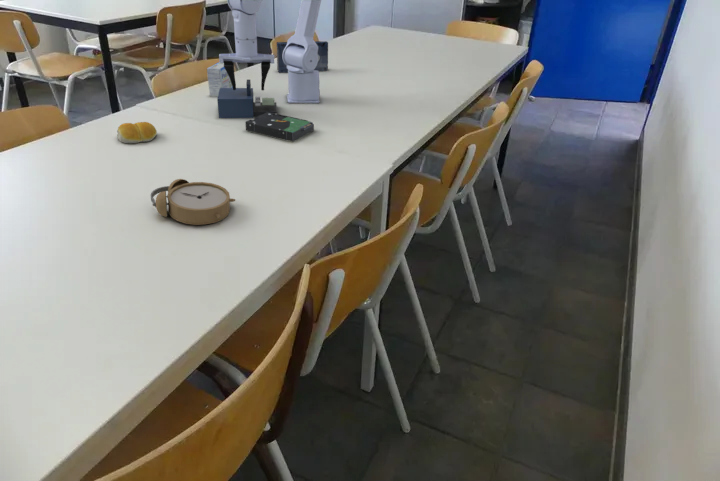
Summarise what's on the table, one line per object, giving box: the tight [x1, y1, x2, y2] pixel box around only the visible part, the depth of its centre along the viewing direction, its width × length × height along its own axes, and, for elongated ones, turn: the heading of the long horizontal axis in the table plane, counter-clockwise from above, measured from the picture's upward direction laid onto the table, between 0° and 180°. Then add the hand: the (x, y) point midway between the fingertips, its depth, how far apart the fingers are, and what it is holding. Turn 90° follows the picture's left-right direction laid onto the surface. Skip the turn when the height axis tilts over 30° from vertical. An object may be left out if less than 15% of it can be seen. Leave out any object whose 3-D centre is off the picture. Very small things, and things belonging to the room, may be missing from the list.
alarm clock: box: [150, 178, 236, 226], centre depth 103 cm, size 11×5×15 cm
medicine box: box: [206, 61, 233, 98], centre depth 167 cm, size 8×4×9 cm, turn 168°
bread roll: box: [116, 121, 158, 144], centre depth 134 cm, size 8×9×4 cm
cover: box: [216, 79, 255, 119], centre depth 153 cm, size 9×11×9 cm
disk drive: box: [245, 112, 315, 142], centre depth 142 cm, size 10×3×15 cm
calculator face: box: [254, 96, 275, 106], centre depth 154 cm, size 5×8×1 cm, turn 9°
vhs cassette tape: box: [276, 40, 329, 74], centre depth 195 cm, size 18×3×10 cm, turn 108°
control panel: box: [253, 101, 278, 118], centre depth 155 cm, size 15×9×3 cm, turn 99°
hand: (248, 89), depth 152 cm, fingers open, 7 cm apart
